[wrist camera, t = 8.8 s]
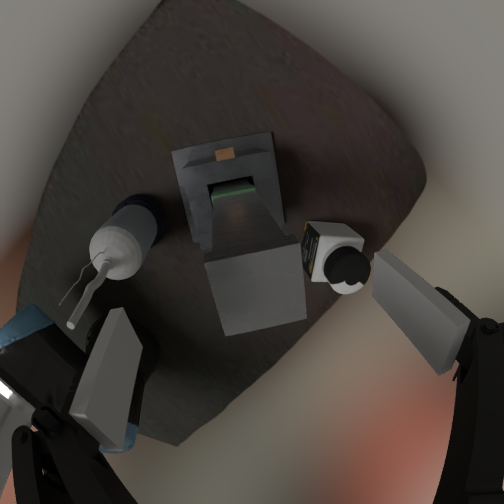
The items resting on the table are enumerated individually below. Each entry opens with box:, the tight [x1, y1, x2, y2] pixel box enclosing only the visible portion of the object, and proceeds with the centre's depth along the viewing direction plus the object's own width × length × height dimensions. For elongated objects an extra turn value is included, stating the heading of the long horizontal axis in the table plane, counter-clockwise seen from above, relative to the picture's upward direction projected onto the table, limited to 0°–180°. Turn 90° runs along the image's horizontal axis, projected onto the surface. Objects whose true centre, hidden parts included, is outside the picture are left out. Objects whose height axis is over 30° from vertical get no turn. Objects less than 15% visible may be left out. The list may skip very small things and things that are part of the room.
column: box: [204, 179, 307, 336], centre depth 24 cm, size 5×5×21 cm
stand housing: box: [172, 132, 285, 250], centre depth 35 cm, size 14×14×9 cm
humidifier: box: [59, 194, 166, 329], centre depth 29 cm, size 8×8×25 cm
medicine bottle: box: [301, 221, 371, 294], centre depth 40 cm, size 7×7×12 cm
